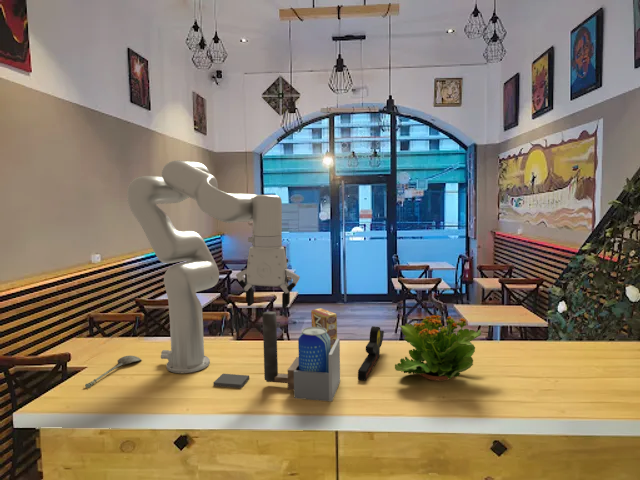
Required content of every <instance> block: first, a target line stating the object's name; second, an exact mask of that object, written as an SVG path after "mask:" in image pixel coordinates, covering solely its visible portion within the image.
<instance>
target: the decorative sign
mask: <svg viewBox="0 0 640 480" xmlns="http://www.w3.org/2000/svg"><path fill="white" fill-rule="evenodd" d="M384 337H385V331H384V330H381V326H374V325H373V326H371V328H370V332H369V341H368V343H367V344H366V346H365V352H366V353H367V356H366V358H365V359H364V361H363V362H362V364H361V365H360V367H359V368H358V371H357V380H359V381H367V380H368V378H369V376H370V374H371V373H372V371H373V369H374V368H375V365H376V364H377V362H378V360H379V358H380V353H381V352H380V351H381V350H380V348H381V347H382V345H383V340H384Z"/></svg>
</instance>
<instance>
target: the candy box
mask: <svg viewBox="0 0 640 480" xmlns="http://www.w3.org/2000/svg"><path fill="white" fill-rule="evenodd" d="M310 312H311V313H310V314H311V319H310V320H311V327H322V328H325V329H326V330H327V334H328V335H329V337H330V343H331V349H332V347H333V345H334V343H335V341H336V339H338V320H337V317H338V315H337V313H335V312H332V311H330V310H327V309H324V308H320V307H319V308H314V309H311V310H310Z"/></svg>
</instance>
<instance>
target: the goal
mask: <svg viewBox="0 0 640 480" xmlns="http://www.w3.org/2000/svg"><path fill="white" fill-rule="evenodd" d="M340 340H341V339H340V338H337V339H336V341H335V343H334V345H333V347H332V349H331V351H330V353H329V373H326V372H312V371H298V370H294V390H293V395H294V397H293V398H294V399H301V400H310V401H311V400H312V401H322V402H323V401H324V402H333V400H334V398H335V395H336V393H337V390H338V387H339V385H340V382H341V349H340V348H341V345H340V344H341V343H340V342H341V341H340Z"/></svg>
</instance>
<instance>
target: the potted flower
mask: <svg viewBox="0 0 640 480" xmlns="http://www.w3.org/2000/svg"><path fill="white" fill-rule="evenodd" d="M441 318H442V316H441V315H438V314H437V315H429V316H425V317H423V319H422V320H421V321H420V322H419V323H418V322H414V324H412V323H410V324H409V323H404V325H399V327H400V328H401V332H402V334H403V335H404V337H403V339H404V340H405V341H406V342H407V343H409V344H410V346H412V348H413V349H409V350H408V353H409V354H408V355H409V356H410V357H411V359H409V358H408V357H407V356H404V357H403V358H400V359H399V362H398V363H397V364H396V363H394V369H395V371H396V372H402V373H403V374H408V375H411V374H413V375H414V374H417V375H419V376H421V377H422V378H425V379H427V380H429V381H430V380H431V381H441V382H442V381H446V380H451V379H452V378H453V377H454V378H455V377H456V378H457V377H460V374H461V373H463V372H465V371H466V372H467V370H469V369H470V368H471V367H472V366H473V365H474V359H473V358H474V357H472V356H473V355H474V353H476V352H475V351H476V347H475V345H474V344H473V343H472V341H474V340H475V339H477V338H478V337H481V336H482V331H481V329H478V330H477V331H476V330H474V329H468V328H464V326H465V327H466V326H467V319H465V318H462V317H461V318H460V319H459V321H456V322H455V320H454V317H452V316H447V317H446V320H445V322H446V323H447V325H445V326H444V325H443V323H442V319H441ZM458 326H459V327H460V329H459V327H458ZM456 329H458V331H457V332H456Z"/></svg>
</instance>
